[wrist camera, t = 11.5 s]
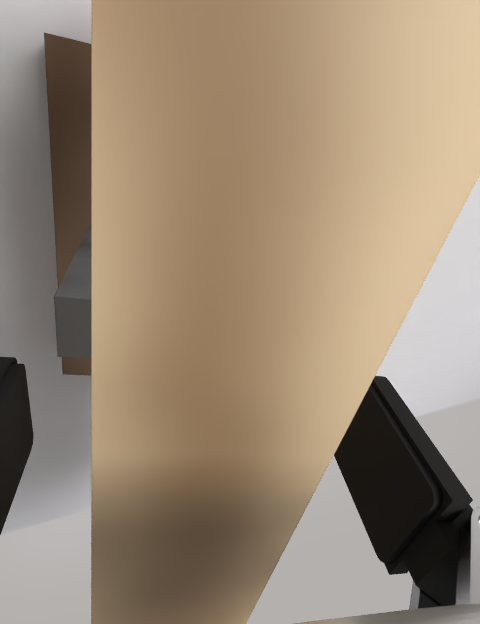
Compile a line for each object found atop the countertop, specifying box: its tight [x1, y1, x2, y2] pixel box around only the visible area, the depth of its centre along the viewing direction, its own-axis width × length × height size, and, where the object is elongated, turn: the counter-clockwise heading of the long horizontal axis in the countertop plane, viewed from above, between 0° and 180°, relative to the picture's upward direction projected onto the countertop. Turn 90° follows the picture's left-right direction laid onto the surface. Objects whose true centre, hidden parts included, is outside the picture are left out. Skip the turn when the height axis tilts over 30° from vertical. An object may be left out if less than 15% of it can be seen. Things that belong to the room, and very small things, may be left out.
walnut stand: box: [44, 33, 92, 375], centre depth 17 cm, size 12×16×8 cm
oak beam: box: [91, 0, 480, 624], centre depth 11 cm, size 5×24×6 cm, turn 168°
